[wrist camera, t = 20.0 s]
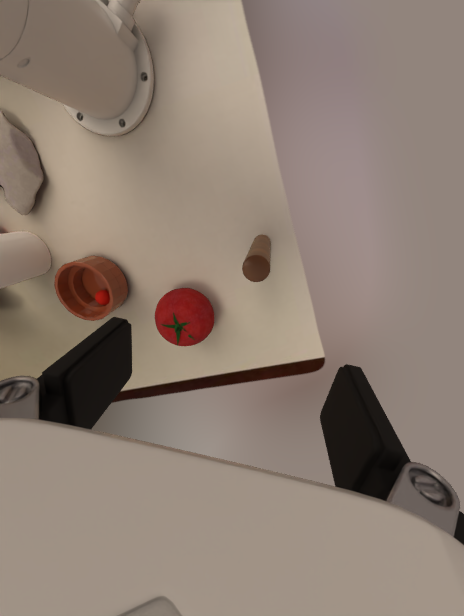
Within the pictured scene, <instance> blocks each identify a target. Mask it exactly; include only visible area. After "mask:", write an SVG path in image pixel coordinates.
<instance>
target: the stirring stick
mask: <svg viewBox="0 0 464 616" xmlns="http://www.w3.org/2000/svg"><path fill="white" fill-rule="evenodd" d="M270 250H271V242H270V239H269V237H268V236H266V235H258V236H257V237H256V238H255V239H254V241H253V243H252V246H251V248H250V250H249V252H248V254H247V257H246V259H245V261H244V263H243V267H242V270H243V274H244V276H245V277H246V278H247V279H248V280H250V281H253V282H260V281H263V280H264V279H266V278H267V276H268V275H269V273H270Z"/></svg>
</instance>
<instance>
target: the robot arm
mask: <svg viewBox="0 0 464 616" xmlns="http://www.w3.org/2000/svg"><path fill="white" fill-rule="evenodd" d="M138 3H140V0H0V75H1V76H3V77H5V78H7V79H9V80H12V81H14V82H16V83H18V84H20V85H23V86H25V87H27V88H29V89H31V90H34V91H36V92H38V93H40V94H43V95H45V96H47V97H49V98H51V99H54V100H56V101H58V102H60V103H62V105H63V106H64V107H65V109H66V110H67V112H68V113H69V114H70V115H71V116H72V117H73V119H74V120H75V121H76V122H78V123H79V124H80V125H82V126H83V127H84V128H86V129H88V130H90V131H92V132H94V133H97V134H100V135H104V136H110V137H111V136H120V135H123V134H126V133H128V132H129V131H131V130H133V129H134V128H135V127H136V126H137V125H138V124H139V123H140V122H141V121H142V119H143V118H144V116H145V114H146V113H147V111H148V108H149V105H150V103H151V99H152V94H153V86H154V72H153V63H152V59H151V54H150V50H149V48H148V45H147V43H146V40H145V38H144V36H143V34H142V32H141V31H140V29H139V27H138V26H137V24H136V23H135V20H134V19H133V14H134V12H135V10H136V7H137V5H138ZM146 78H147V81H146ZM125 123H126V124H125ZM124 124H125V126H124ZM131 374H132V336H131V324H130V323H128V321H127V320H126V319H121V318H116V317H113V318H111V319H110V320H109V321H107V322H106V323H105V324H104V325H102V326H101V327H100V328H98V329H97V330H96V331H95V332H93V333H92V334H91V335H89V336H88V337H87V338H86V339H84V340H83V341H82V342H81V343H79V344H78V345H77V346H75V347H74V348H73V349H72V350H70V351H69V352H68V353H66V354H65V355H64V356H63V357H61V358H60V359H59V360H57V361H56V362H55V363H54V364H52V365H51V366H50V367H48V368H47V369H46V370H45V371H43V372H42V375H41V376H40V377H39V378H37V379H36V378H34V377H30V376H16V377H11V378H8V379H4V380H2V381H0V616H464V514H463V513H462V512H460V511H459V509H460V502H459V498H458V496H457V494H456V492H455V491H454V489H453V488H452V486H451V485H450V484H449V483H448V482H447V481H446V480H445V479H444V478H443V477H442V476H441V475H440V474H438V473H437V472H436V471H434V470H433V469H431V468H429V467H428V466H426V465H423V464H420V463H416V462H411V461H410V459H409V457H408V456H407V454H406V452H405V450H404V448H403V446H402V444H401V442H400V440H399V439H398V437H397V435H396V433H395V431H394V429H393V427H392V425H391V424H390V422H389V420H388V418H387V416H386V414H385V412H384V410H383V409H382V407H381V405H380V403H379V401H378V399H377V398H376V395H375V394H374V392H373V390H372V388H371V386H370V384H369V382H368V380H367V378H366V377H365V375H364V373H363V371H362V369H361V368H360V367H356V366H352V365H345V366H344V367H340V368H339V370H338V372H337V374H336V377H335V379H334V382H333V384H332V387H331V389H330V391H329V394H328V396H327V399H326V401H325V404H324V406H323V409H322V411H321V415H320V421H321V425H322V430H323V434H324V438H325V443H326V447H327V451H328V456H329V460H330V465H331V469H332V474H333V478H334V482H335V487H334V486H331V485H327V484H323V483H319V482H315V481H311V480H307V479H303V478H298V477H295V476H290V475H286V474H282V473H278V472H273V471H269V470H265V469H261V468H257V467H253V466H248V465H244V464H240V463H236V462H231V461H227V460H223V459H218V458H214V457H210V456H205V455H201V454H197V453H192V452H188V451H183V450H180V449H175V448H171V447H166V446H162V445H158V444H153V443H149V442H144V441H140V440H136V439H131V438H126V437H122V436H118V435H113V434H109V433H104V432H100V431H95V430H91V429H92V427H93V426H94V425H95V423H96V422H97V421H98V419H99V418H100V417H101V416H102V414H103V413H104V411H105V410H106V409H107V408H108V406H109V405H110V404H111V402H112V401H113V400H114V398H115V397H116V396H117V395H118V393H119V392H120V391H121V389H122V388H123V387H124V385H125V384H126V383H127V381H128V380H129V379H130V377H131Z"/></svg>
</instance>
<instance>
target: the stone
mask: <svg viewBox="0 0 464 616" xmlns="http://www.w3.org/2000/svg"><path fill="white" fill-rule="evenodd" d="M40 168H41V166H40V161H39V159H38V154H37V152H36V150H35V148H34V146H33V143H32V141H31V140H30V139H29V138H28V137H27V136H26V135H25V134H24V133H23V132H22V131H20V130H19V129H17V128H16V127H14V126H13V125H12V124H10V123H9V121H8V120H7V118H6V117H5V116H4V113H3V112H2V111H0V185H1V186H2V187H3V188H4V191H5V198H6V201H7V202H8V203H9V205H10V206H11V207H13V208H14V209H15V210H16V211H18V212H19V213H20V214H21V215H27V214H28V213H29V212H30V211H31V209H32V207H33V206H34V204H35V195H36V193H37V191H38V190H39V188H40V186H41V184H42V182H43V172H42V170H41V169H40Z"/></svg>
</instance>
